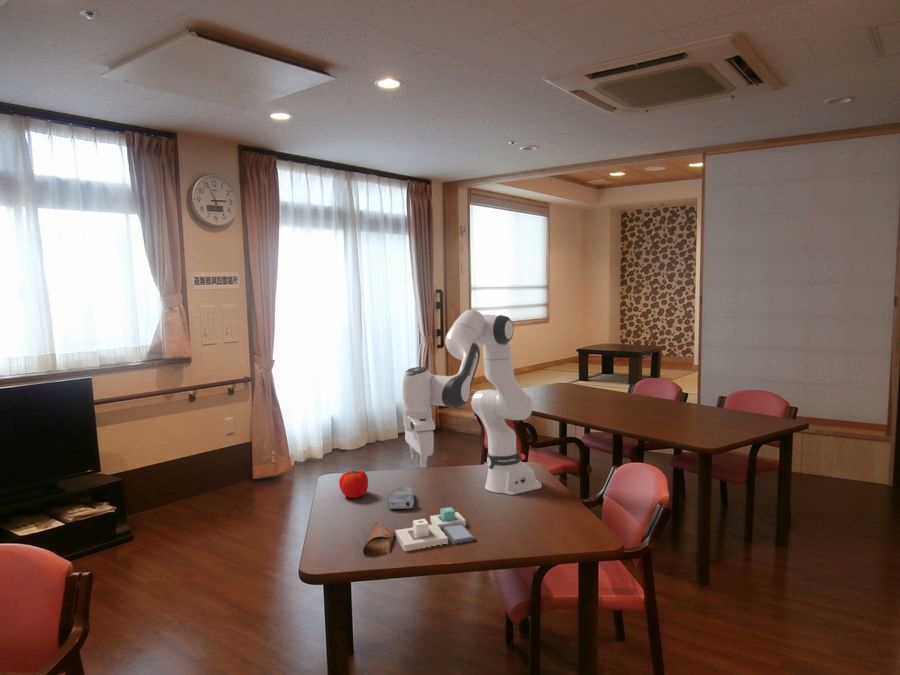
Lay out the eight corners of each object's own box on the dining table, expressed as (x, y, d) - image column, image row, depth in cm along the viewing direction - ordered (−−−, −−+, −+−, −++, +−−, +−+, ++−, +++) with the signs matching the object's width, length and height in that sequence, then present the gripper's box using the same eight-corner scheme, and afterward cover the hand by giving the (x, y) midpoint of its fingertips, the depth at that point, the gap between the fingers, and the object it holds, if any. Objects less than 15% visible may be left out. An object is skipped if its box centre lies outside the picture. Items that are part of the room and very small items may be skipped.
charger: (425, 536, 190) (424, 518, 189) (428, 541, 186) (428, 522, 185) (413, 538, 188) (412, 520, 188) (416, 543, 185) (416, 524, 184)
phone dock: (457, 517, 205) (457, 511, 205) (479, 540, 186) (478, 534, 186) (430, 521, 202) (430, 516, 201) (449, 545, 183) (448, 539, 183)
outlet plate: (436, 529, 195) (436, 523, 195) (448, 544, 184) (447, 537, 184) (395, 536, 191) (395, 529, 190) (404, 551, 179) (404, 544, 179)
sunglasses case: (391, 555, 177) (379, 536, 177) (371, 566, 178) (359, 548, 177) (398, 530, 195) (388, 513, 195) (380, 541, 195) (370, 524, 195)
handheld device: (415, 492, 232) (415, 480, 232) (413, 511, 212) (413, 499, 212) (391, 493, 232) (391, 481, 232) (386, 512, 212) (386, 499, 212)
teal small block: (451, 521, 202) (451, 506, 202) (455, 525, 198) (455, 510, 198) (440, 522, 201) (440, 508, 200) (444, 527, 197) (443, 512, 197)
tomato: (371, 490, 235) (370, 464, 235) (365, 501, 223) (364, 474, 222) (343, 490, 236) (342, 465, 235) (336, 502, 223) (335, 475, 222)
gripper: (399, 414, 193) (401, 455, 194) (416, 427, 173) (417, 473, 175) (418, 412, 195) (419, 453, 196) (436, 425, 175) (438, 470, 177)
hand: (418, 462), depth 185 cm, fingers open, 8 cm apart
